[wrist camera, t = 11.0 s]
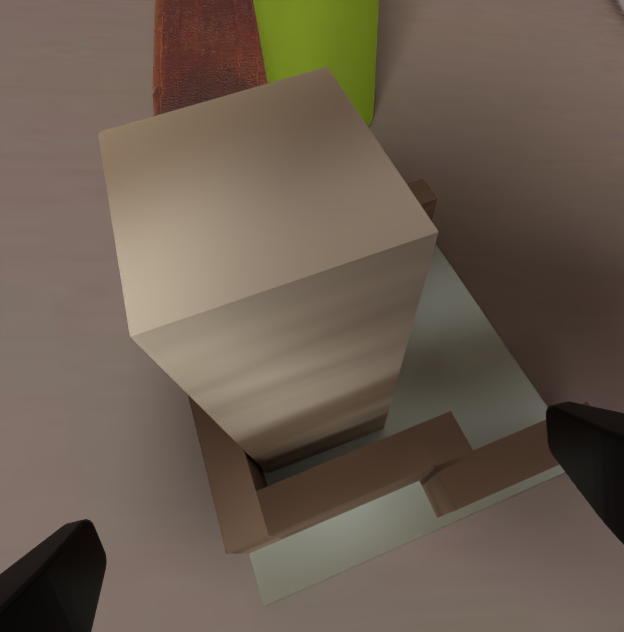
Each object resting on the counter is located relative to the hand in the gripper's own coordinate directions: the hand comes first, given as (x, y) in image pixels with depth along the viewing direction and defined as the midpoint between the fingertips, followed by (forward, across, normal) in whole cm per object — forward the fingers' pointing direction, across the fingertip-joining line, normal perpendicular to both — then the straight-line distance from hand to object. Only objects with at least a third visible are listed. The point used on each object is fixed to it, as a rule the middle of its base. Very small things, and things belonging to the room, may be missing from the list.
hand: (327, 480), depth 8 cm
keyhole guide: (+9, -2, +2) cm, 9 cm away
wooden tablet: (+31, 0, -19) cm, 36 cm away
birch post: (+8, 0, +2) cm, 8 cm away
